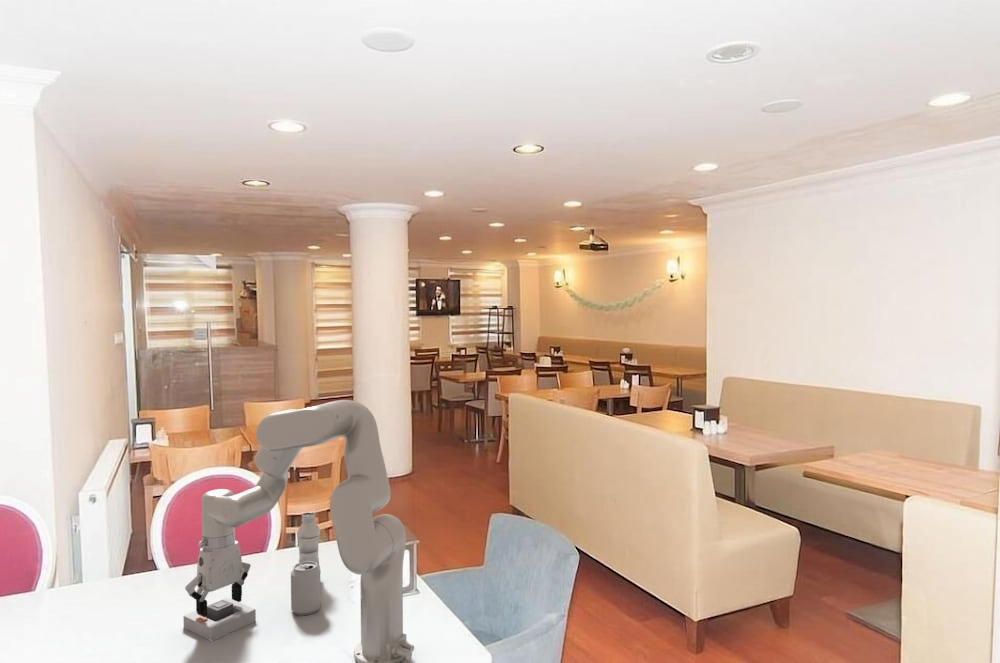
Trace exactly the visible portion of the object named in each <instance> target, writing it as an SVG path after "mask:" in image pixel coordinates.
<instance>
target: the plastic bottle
mask: <svg viewBox="0 0 1000 663" xmlns="http://www.w3.org/2000/svg"><path fill="white" fill-rule="evenodd" d="M296 535H297V542H298V550H299V551H298V556H299V558H298V563H300V562H305V561H313V562H316V563H317V564H318V567H319V568H320V569H321V566H320V558H319V544H320V538H321V537H320V536H321V529H320V527H319V525H318V524H317V523H316V513H315V512H312V511H311V512H310V511H308V512H304V513H302V514H301V524H300V526H299V527H298V530H297V533H296ZM321 572H322V571H321V570H320V574H321Z"/></svg>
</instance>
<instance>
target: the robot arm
mask: <svg viewBox="0 0 1000 663" xmlns="http://www.w3.org/2000/svg"><path fill="white" fill-rule="evenodd" d="M255 437H256V441H257V443H258V445H259V449H258V451H257V452H256V454H255V455H254V465H255V466H256V468H257V469H258V470H259V471H260V472H261V473H262V475H261V477H260V478H259V480H258V481H257V483H256V484H255V486H254V487H252V488H249V489H247V490H243V491H241V492H238V493H236V494H234V492H233V491H232V490H230V489H227V488H217V489H212V490H209V491H206V492H205V493H203V495H202V496H201V540H199V541H198V542H197V546H198V548H200V549H199V553H198V558H197V564H196V565H197V568H196V576H195V577H194V578H193V579H192V580H191V581H190V582H189V583H188V584H187V585H186V586H185V588H184V589H185V591H186V592H187V594H188V595H189V596H190V597H191V598H193V599H194V600H195V601H196V602H195V609H196V610H195V611H197V614H198V615H200V616H203V617H205V616H207V606H208V600H206V598H207V596H208V595H209V593H211V592H214V591H217V590H220V589H223V588H225V587H228V586H230V585H231V599H232V600H234V601H237V602H239V603H241V602H242V597H243V585H244V584H245V580H246V579H247V577H248V575H249V571H250V569H251V566H252V565H251V564H250V563H247V562H243V561H242V560H243V559H242V554H241V553H242V551H241V547H240V545H239V541H238V540H236V531H235V530H236V529H235V528H238V527H242V526H245V525H247V524H249V523H250V522H252V521H255V520H256V519H258V518H259V519H260V518H261V517H263V516H266V515H267V514H269V513H270V512H271V511H272V510H273V508H274V507H276V505H277V503H278V502H279V500H281V497H282V495H284V492H285V491H286V488H287V487H288V486H287V485H288V478H289V476H288V474H289V473H288V471H289V470H290V468H291V466H292V465H293V463H294V461H295V460H296V459H297V457H298V455H299V454H300V452H301V451H302V449H303V448H307V447H312V446H313V447H314V446H318V445H322V444H326V443H328V442H330V441H333V440H336V439H338V438H344V440H345V444H344V452H343V454H344V455H343V457H344V463H345V466H346V471H347V479H344V480H343V481H340V483H338V484H337V485H336V487H335V488H334V489H333V491H332V493H331V496H330V501H329V510H330V511H329V512H330V516H331V521H332V526H333V529H334V530H333V531H334V535H335V539H336V543H337V549H338V553H339V556H340V559H341V561H342V563H343V565H344V566H345V568H347V570H348V571H350V572H351V573H352V574H356V575H360V642H358V644H356V646H355V648H354V650H353V657H354V660H355V661H356V662H357V663H401V662H403V661H404V660H406V661H407V660H408V661H409V660H410V659H411V658H412V655H413V652H414V650H415V645H414V644H411V643H409V641H408V640H407V634H406V633H404V622H403V621H404V618H403V617H404V616H403V615H404V614H403V612H404V611H403V608H404V607H403V606H404V605H403V604H404V603H403V600H404V597H403V593H404V591H403V590H404V589H403V586H404V585H403V584H404V583H403V581H404V579H403V576H404V575H403V574H404V572H403V570H404V558H405V553H406V552H405V551H406V546H407V545H406V543H407V534H406V529H405V526H404V524H403V523H402V521H401V520H400V518H398V517H396V516H395V515H392V514H386V513H385V514H384V513H382V514H379V515H375V513H377V512H379V511H381V509H383V508H384V507H386V506H387V504H388V503H389V502H390V499H391V493H392V492H391V486H390V482H389V478H388V476H389V475H388V471H387V468H386V463H385V458H384V455H383V451H382V447H381V446H382V445H381V441H380V436H379V429H378V425H377V422H376V418H375V416H374V414H373V413H372V411H371V410H370V409H369V408H368V407H367V406H366V405H365V404H363V403H361V402H358V401H355V400H352V399H339V400H334V401H330V402H326V403H325V402H324V403H322V404H317V405H314V406H309V407H306V408H301V409H298V408H289V409H287V410H282V411H277V412H273V413H271V414H268V415H265V417H263V418H262V419H261V420H260V422H259V423H258V425H257V428H256V432H255ZM373 515H375V516H374V517H373ZM196 587H197V590H195V588H196Z"/></svg>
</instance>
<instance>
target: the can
mask: <svg viewBox="0 0 1000 663" xmlns="http://www.w3.org/2000/svg"><path fill="white" fill-rule="evenodd" d="M320 571H321V567H320V568H319V567H318V564H317V563H316V562H313V561H305V562H300V563H299V562H298V563H296V564H294V565H293V567H292V570H291V571H290V609H291V611H292V612H293V613H294V614H295V615H298V616H309V615H311V614H314V613H315V612H318V609H319V608H320V607H321V604H322V602H321V601H322V598H321V597H322V596H321V594H322V593H321V573H320Z"/></svg>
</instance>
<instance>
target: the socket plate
mask: <svg viewBox="0 0 1000 663" xmlns="http://www.w3.org/2000/svg"><path fill="white" fill-rule="evenodd" d="M222 600H225V601H227V602H230V603H232V604H233V614H232V615H230V616H227V617H225V618H223V619H221V620H218V621H216V622H215V621H213V620H210V619H208V618H207V616H205V617H203V616H200V615H198V614H197V611H196V610H194V611H192V612H189V613H187V614H185V615H183V628H184V629H185V630H187V631H190V632H192V633H194V634H196V635H198V636H199V637H200V636H201V637H202V638H204V639H207V640H209V641H211V642H214V641H215V640H219V638H222V637H224V636H227V635H228V634H230V633H232V632H233V633H234V632H235V631H237V630H239V629H241V628H243V627H246V626H247V625H250V624H252V623H254V622H255V621H257V620H256V618H257V616H256V612H257V610H256V608H254V607H252V606H248V605H246V604H243V603H241V602H237V601H235V600H232V598H229V597H225V598H223V599H222ZM209 605H210V604H209ZM209 605H208V604H207V606H209Z"/></svg>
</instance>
